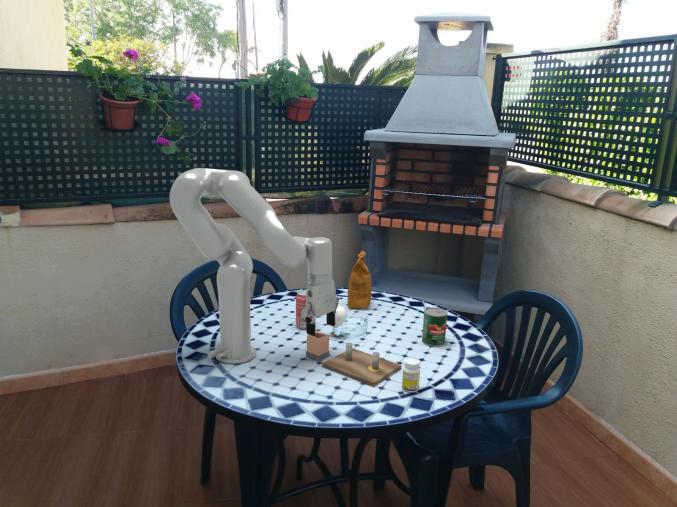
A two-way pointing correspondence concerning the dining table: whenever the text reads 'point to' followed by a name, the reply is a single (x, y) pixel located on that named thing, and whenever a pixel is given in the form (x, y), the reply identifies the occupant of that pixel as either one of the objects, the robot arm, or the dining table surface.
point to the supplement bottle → (411, 375)
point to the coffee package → (359, 285)
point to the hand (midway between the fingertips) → (321, 329)
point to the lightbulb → (340, 316)
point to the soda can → (299, 307)
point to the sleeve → (318, 346)
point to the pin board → (362, 366)
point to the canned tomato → (434, 327)
